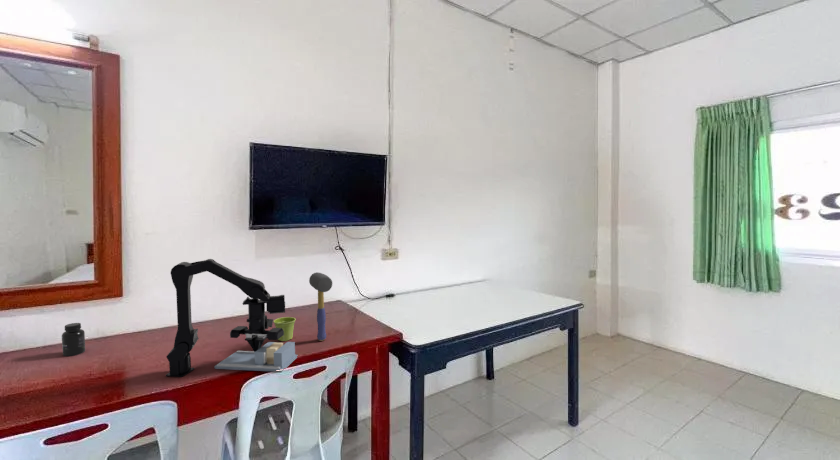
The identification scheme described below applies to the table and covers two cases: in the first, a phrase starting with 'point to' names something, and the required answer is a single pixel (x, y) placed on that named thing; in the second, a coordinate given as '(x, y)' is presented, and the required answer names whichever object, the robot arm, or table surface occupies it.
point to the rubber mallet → (321, 300)
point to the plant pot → (285, 327)
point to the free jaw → (262, 354)
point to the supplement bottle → (73, 340)
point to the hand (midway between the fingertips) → (257, 354)
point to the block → (272, 352)
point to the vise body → (247, 360)
